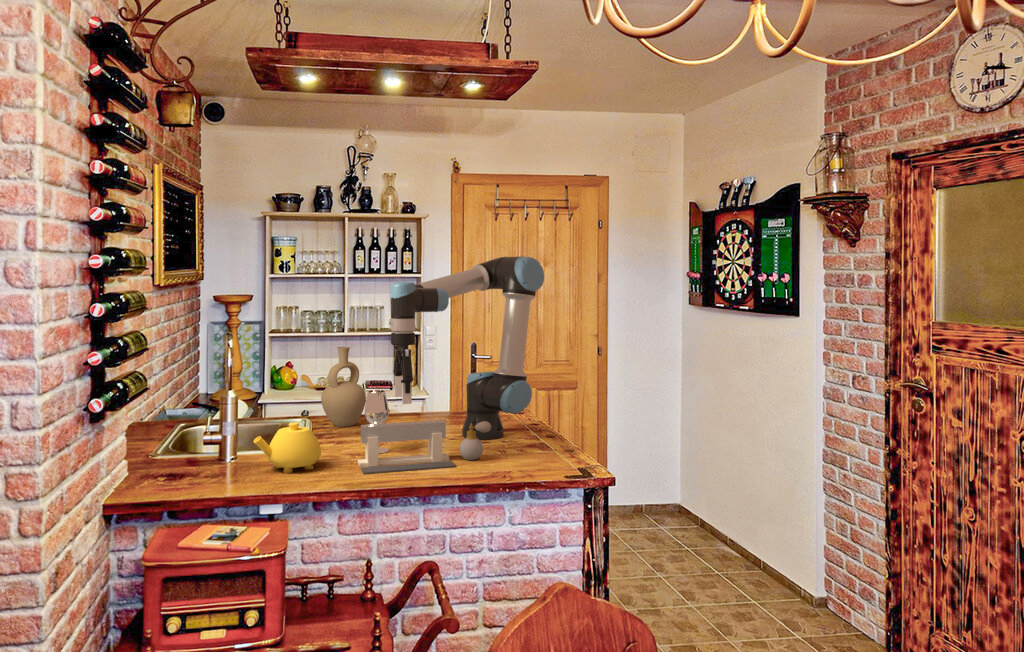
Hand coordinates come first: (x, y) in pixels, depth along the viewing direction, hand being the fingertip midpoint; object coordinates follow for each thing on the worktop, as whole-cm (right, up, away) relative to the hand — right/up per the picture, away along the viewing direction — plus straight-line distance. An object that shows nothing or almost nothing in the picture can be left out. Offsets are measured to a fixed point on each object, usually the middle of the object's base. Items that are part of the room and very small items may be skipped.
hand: (402, 400), depth 244 cm
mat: (+3, -20, -6) cm, 21 cm away
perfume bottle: (+22, -19, +6) cm, 30 cm away
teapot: (-34, -20, -8) cm, 40 cm away
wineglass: (-11, -18, +15) cm, 26 cm away
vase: (-30, -15, +56) cm, 65 cm away
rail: (0, -12, +1) cm, 12 cm away
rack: (0, -19, +2) cm, 19 cm away
